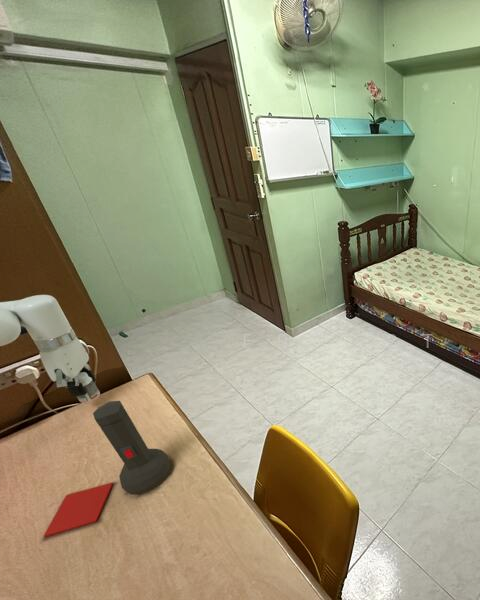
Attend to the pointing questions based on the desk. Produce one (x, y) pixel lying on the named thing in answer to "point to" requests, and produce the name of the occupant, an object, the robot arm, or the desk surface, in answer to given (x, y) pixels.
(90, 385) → the pill bottle
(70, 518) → the red pad
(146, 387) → the desk surface
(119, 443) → the flashlight
